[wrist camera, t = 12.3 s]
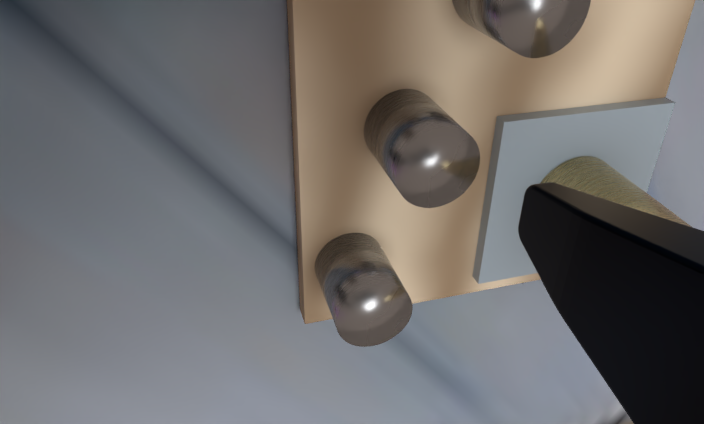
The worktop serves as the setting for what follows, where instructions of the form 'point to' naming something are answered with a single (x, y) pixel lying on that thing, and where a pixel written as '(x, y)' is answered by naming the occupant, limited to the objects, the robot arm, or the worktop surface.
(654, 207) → the tall brass spacer
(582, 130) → the grey flat square plate
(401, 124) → the short steel spacers
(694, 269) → the robot arm
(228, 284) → the worktop surface
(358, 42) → the board
